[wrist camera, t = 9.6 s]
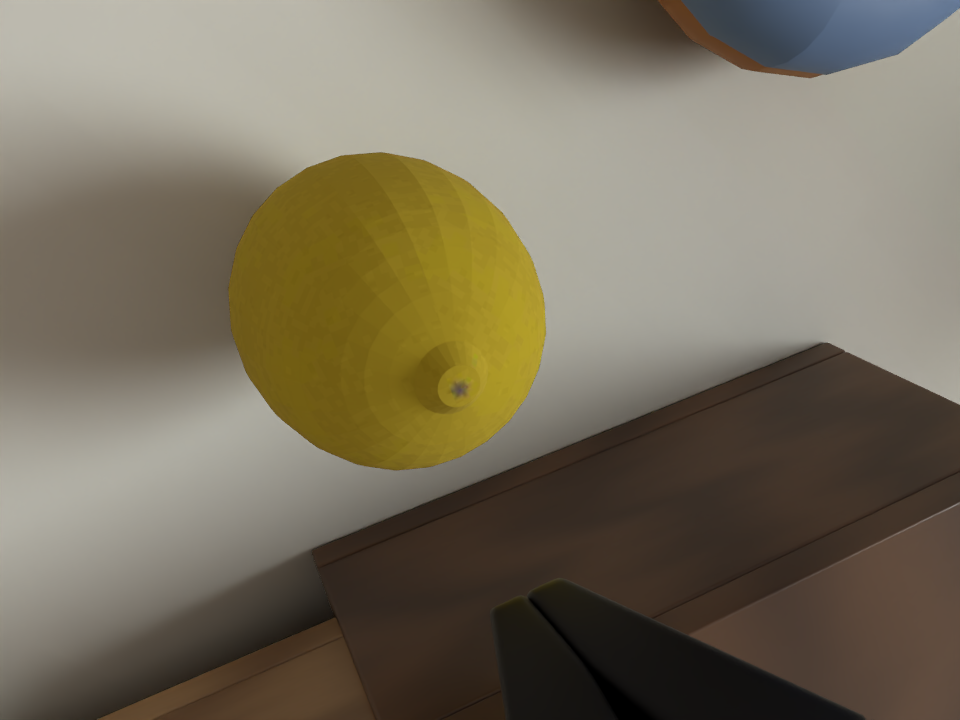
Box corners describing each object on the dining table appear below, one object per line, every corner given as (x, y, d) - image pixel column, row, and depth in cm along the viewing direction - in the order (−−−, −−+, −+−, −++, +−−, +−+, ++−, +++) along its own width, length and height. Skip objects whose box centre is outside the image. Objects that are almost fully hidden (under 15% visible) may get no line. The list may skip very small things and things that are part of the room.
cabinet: (423, 872, 28) (521, 1132, 22) (310, 549, 22) (399, 777, 16) (829, 659, 33) (1010, 822, 26) (826, 341, 27) (1062, 451, 20)
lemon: (150, 269, 18) (184, 432, 11) (324, 71, 18) (463, 114, 11) (341, 409, 21) (460, 604, 14) (492, 238, 21) (684, 353, 14)
